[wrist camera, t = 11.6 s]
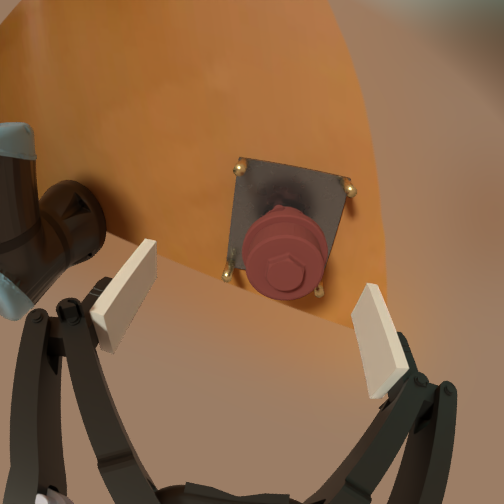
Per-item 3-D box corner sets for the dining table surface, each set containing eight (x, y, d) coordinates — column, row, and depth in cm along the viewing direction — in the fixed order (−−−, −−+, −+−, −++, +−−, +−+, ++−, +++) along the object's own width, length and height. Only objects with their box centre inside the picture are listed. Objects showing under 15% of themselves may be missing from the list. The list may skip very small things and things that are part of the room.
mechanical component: (334, 221, 38) (289, 267, 42) (279, 176, 36) (235, 230, 40) (353, 271, 27) (289, 325, 32) (277, 212, 25) (218, 280, 30)
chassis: (226, 264, 44) (221, 281, 40) (239, 156, 35) (233, 164, 31) (319, 280, 44) (322, 298, 40) (350, 178, 35) (358, 188, 31)
